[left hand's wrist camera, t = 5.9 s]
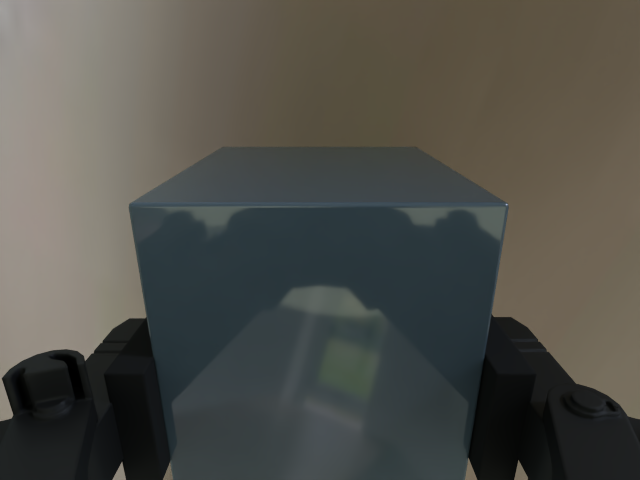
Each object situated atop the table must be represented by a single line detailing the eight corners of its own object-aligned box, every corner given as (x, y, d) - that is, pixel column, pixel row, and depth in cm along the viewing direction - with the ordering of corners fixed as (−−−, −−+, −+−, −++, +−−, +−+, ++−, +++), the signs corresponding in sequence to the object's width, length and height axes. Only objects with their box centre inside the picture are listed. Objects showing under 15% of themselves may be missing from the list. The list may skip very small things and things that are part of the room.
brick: (239, 369, 17) (184, 559, 10) (221, 146, 14) (126, 203, 7) (400, 369, 17) (453, 559, 10) (417, 146, 14) (511, 203, 7)
